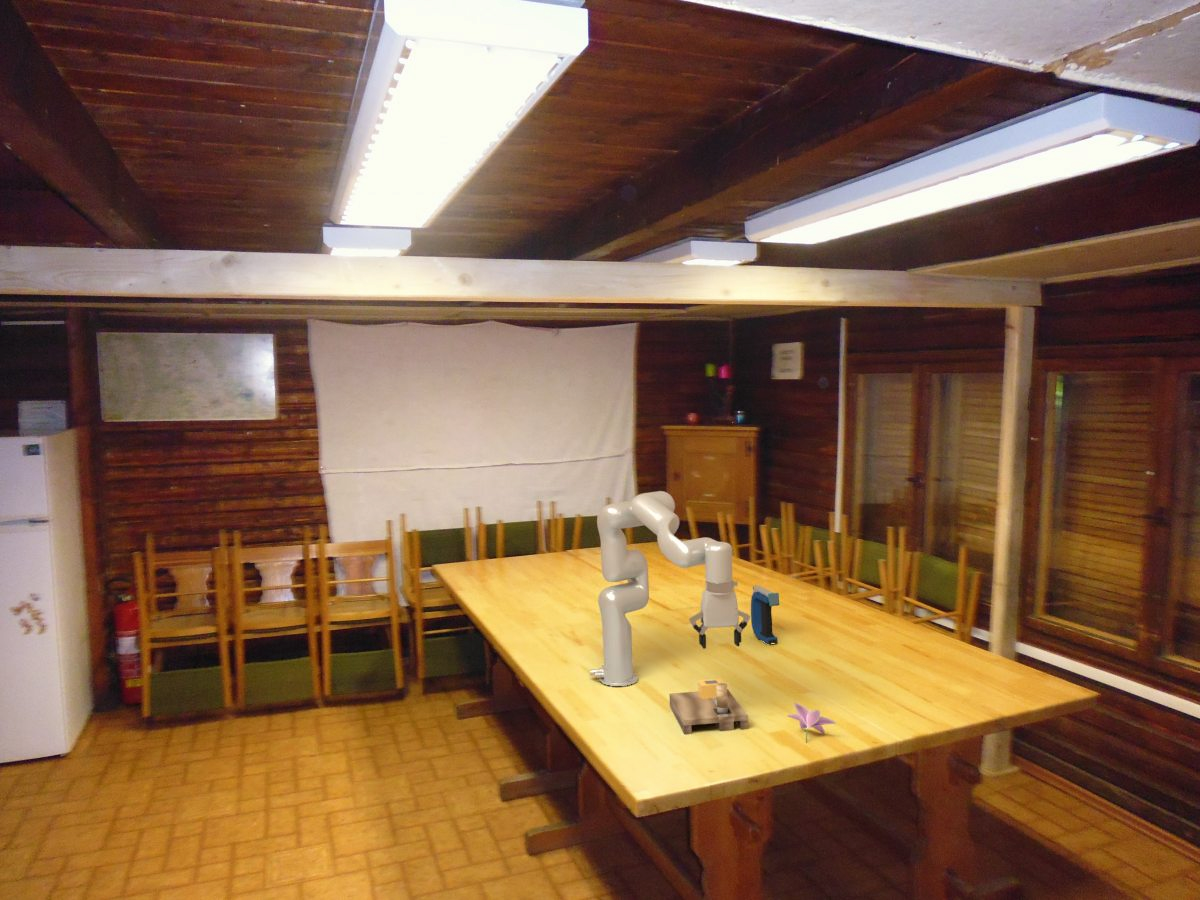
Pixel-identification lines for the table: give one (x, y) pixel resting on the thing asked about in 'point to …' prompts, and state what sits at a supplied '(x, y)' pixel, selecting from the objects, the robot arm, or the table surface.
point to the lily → (810, 719)
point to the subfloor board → (706, 712)
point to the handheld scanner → (763, 613)
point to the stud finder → (708, 688)
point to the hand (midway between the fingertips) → (720, 646)
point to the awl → (722, 699)
